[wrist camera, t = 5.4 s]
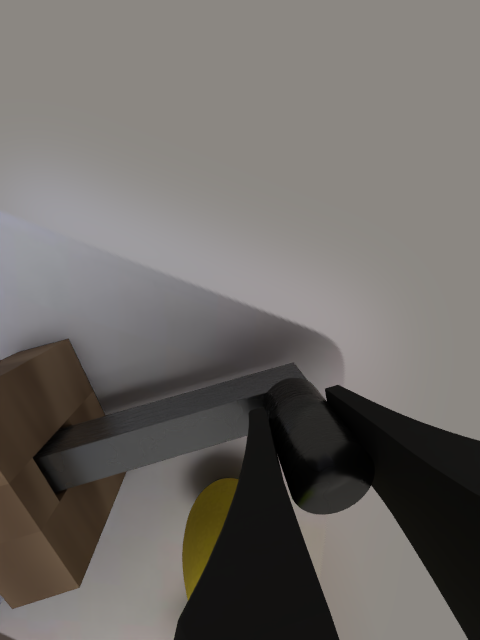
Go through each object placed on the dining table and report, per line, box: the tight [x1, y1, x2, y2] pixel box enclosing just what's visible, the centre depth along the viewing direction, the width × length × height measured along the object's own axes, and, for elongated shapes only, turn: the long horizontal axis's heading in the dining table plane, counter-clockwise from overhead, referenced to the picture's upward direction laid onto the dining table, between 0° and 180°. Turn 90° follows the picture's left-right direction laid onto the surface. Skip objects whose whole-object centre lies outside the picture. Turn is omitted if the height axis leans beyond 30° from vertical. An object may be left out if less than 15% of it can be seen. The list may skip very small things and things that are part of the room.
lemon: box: [182, 478, 239, 600], centre depth 14 cm, size 6×6×8 cm
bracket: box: [0, 339, 127, 609], centre depth 12 cm, size 3×10×6 cm, turn 14°
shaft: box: [33, 363, 375, 514], centre depth 10 cm, size 15×3×6 cm, turn 104°
